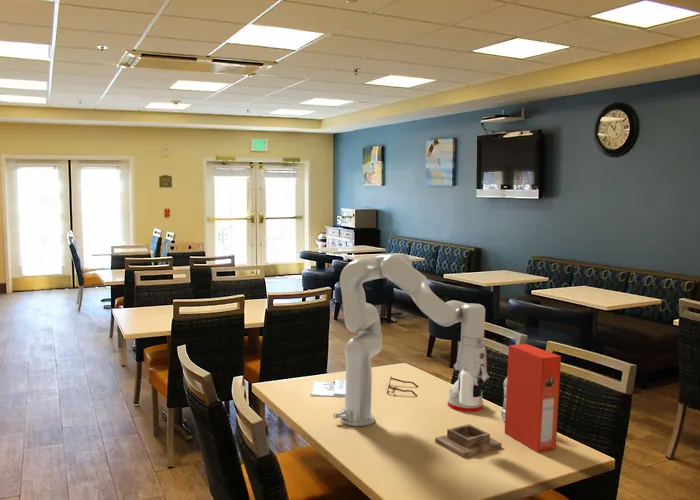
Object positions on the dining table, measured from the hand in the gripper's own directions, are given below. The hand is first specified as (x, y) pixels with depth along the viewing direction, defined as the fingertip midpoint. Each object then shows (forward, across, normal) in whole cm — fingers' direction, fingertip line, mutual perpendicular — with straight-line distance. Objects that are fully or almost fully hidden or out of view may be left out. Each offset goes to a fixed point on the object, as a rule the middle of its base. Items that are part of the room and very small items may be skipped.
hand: (469, 393), depth 206 cm
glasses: (+18, +55, -16) cm, 60 cm away
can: (+4, 0, 0) cm, 4 cm away
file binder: (+18, -8, -21) cm, 29 cm away
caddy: (+18, 0, 0) cm, 18 cm away
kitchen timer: (+18, +28, -26) cm, 43 cm away
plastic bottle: (+18, +8, -29) cm, 35 cm away
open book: (+18, +70, +10) cm, 73 cm away
